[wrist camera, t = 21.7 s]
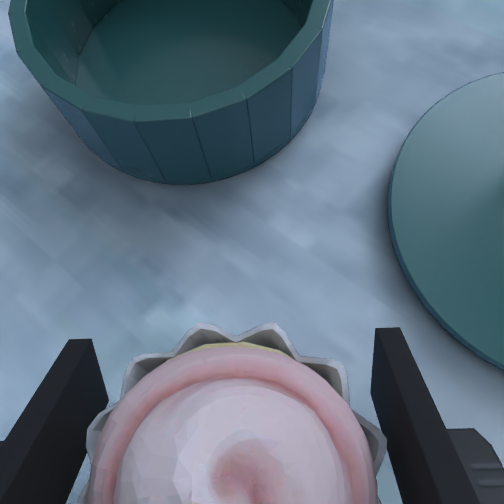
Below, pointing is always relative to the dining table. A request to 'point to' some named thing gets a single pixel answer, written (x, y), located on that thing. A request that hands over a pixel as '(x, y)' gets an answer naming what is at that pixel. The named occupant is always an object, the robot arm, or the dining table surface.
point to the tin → (178, 78)
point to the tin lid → (456, 214)
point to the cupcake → (233, 427)
